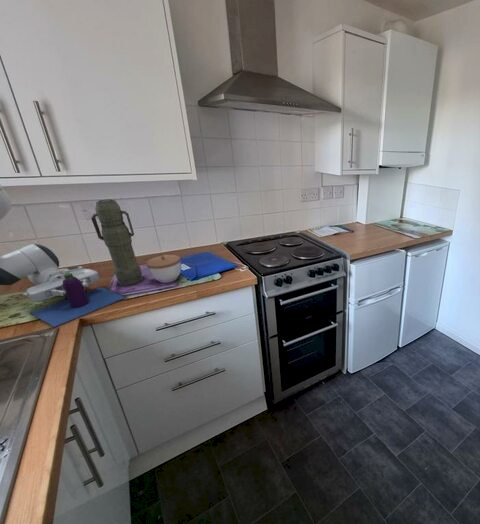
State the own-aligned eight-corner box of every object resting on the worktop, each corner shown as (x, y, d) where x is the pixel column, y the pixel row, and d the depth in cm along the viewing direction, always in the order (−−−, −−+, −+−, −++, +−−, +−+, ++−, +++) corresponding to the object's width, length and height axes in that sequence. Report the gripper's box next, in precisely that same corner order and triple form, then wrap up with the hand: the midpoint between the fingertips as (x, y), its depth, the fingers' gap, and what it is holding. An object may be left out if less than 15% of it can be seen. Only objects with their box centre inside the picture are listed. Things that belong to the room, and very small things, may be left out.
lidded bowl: (176, 285, 126) (170, 261, 122) (145, 286, 125) (138, 262, 121) (189, 272, 138) (184, 250, 133) (160, 273, 137) (154, 250, 133)
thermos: (114, 281, 129) (86, 200, 116) (146, 274, 136) (123, 197, 122) (114, 289, 123) (84, 204, 109) (147, 281, 129) (124, 200, 115)
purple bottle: (75, 309, 108) (62, 278, 103) (68, 305, 110) (55, 275, 105) (92, 302, 112) (80, 273, 107) (85, 299, 114) (73, 270, 109)
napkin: (54, 327, 99) (53, 326, 98) (30, 313, 106) (30, 312, 106) (125, 297, 116) (125, 297, 116) (101, 287, 124) (100, 286, 124)
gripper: (16, 285, 104) (33, 294, 99) (85, 264, 121) (103, 271, 115) (24, 301, 107) (41, 310, 101) (90, 278, 124) (109, 285, 118)
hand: (75, 289), depth 108 cm, fingers closed on purple bottle, 5 cm apart
